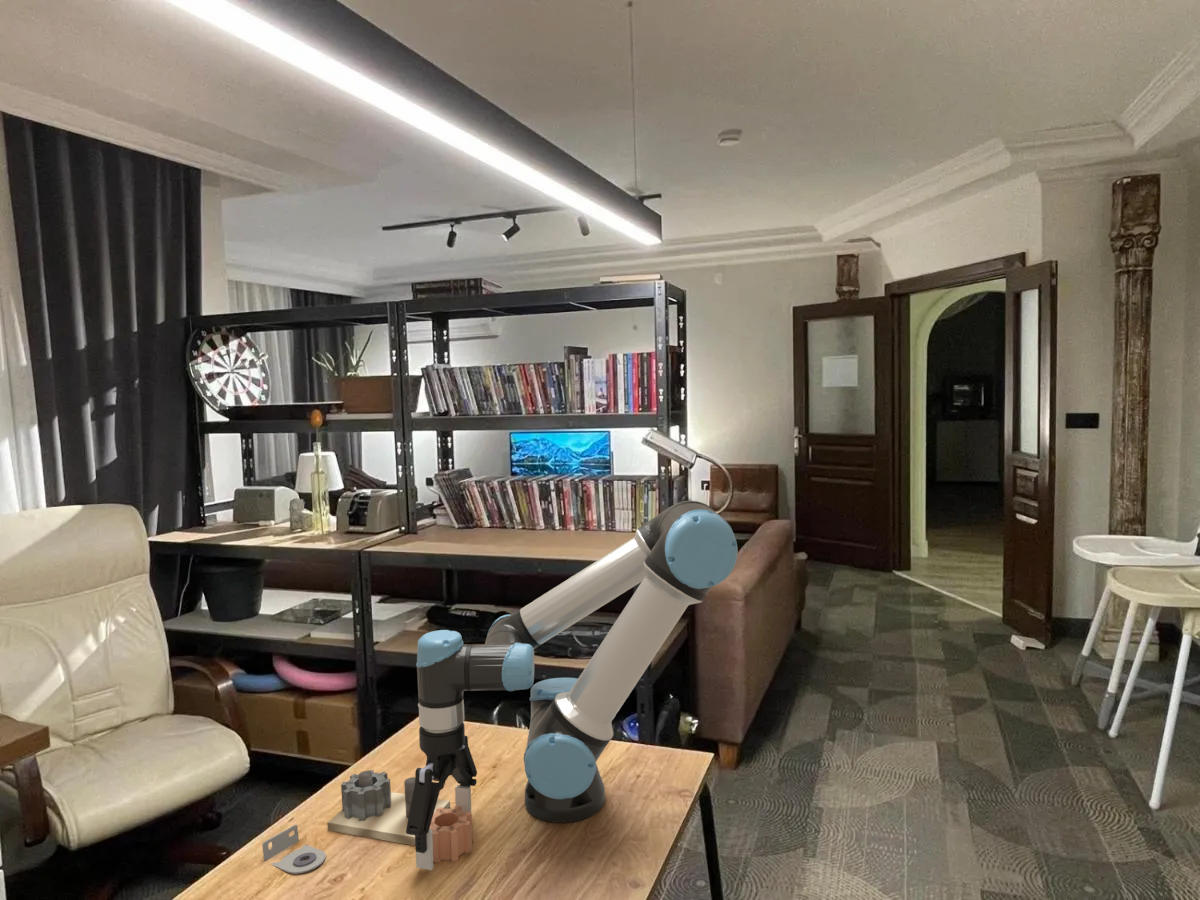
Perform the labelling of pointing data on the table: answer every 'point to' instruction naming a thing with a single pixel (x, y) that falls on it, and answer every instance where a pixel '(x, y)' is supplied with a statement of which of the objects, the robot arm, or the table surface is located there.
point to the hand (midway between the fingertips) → (445, 843)
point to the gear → (451, 833)
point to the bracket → (293, 853)
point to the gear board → (376, 808)
